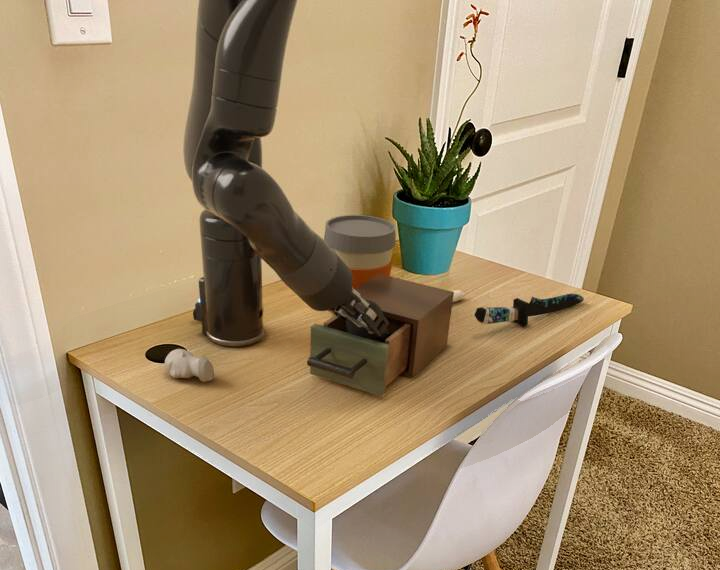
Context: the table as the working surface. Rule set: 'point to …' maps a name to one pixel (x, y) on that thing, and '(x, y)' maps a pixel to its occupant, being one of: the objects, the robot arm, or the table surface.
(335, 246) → the reusable coffee cup
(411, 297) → the cabinet
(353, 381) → the drawer
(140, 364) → the table surface
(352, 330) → the light bulb
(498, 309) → the knife
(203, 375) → the pale two-lobed sculpture
